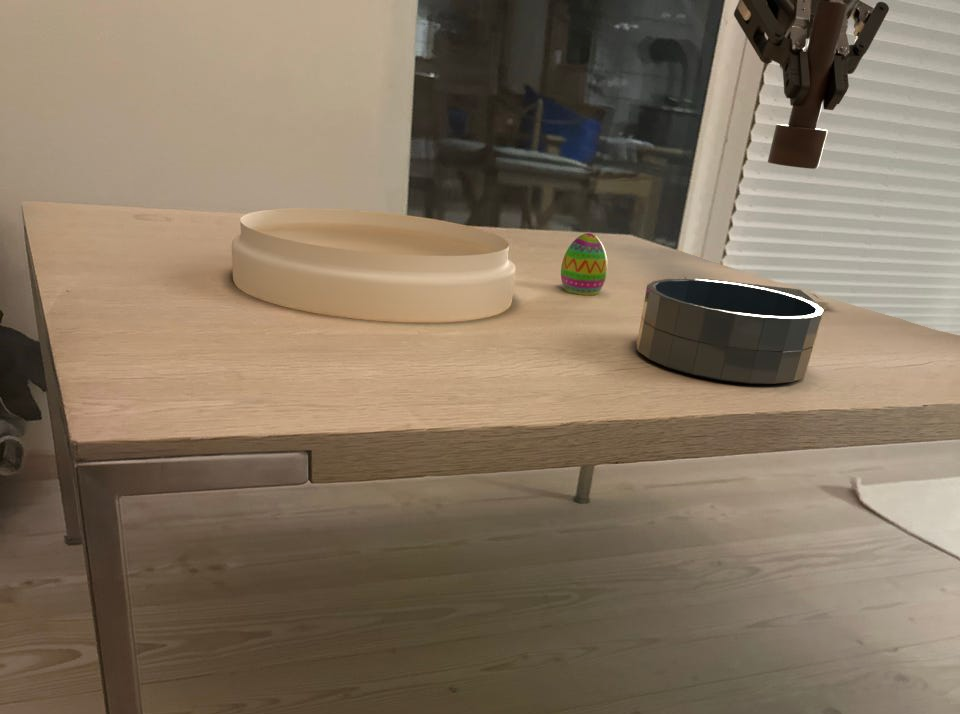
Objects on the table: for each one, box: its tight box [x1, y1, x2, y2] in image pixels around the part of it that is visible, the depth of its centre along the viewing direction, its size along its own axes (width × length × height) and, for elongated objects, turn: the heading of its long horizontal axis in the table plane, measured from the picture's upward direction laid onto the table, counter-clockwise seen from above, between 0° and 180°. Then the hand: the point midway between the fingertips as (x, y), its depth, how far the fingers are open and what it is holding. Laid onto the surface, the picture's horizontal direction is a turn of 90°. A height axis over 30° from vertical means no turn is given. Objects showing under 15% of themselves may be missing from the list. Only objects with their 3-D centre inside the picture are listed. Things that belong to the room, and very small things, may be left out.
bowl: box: [635, 278, 825, 385], centre depth 77 cm, size 14×14×6 cm
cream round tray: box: [231, 207, 516, 324], centre depth 89 cm, size 27×27×6 cm
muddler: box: [767, 1, 847, 170], centre depth 79 cm, size 4×4×12 cm
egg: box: [560, 232, 608, 296], centre depth 98 cm, size 5×5×6 cm
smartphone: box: [684, 276, 829, 311], centre depth 107 cm, size 7×16×1 cm, turn 87°
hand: (817, 99), depth 78 cm, fingers closed on muddler, 2 cm apart
